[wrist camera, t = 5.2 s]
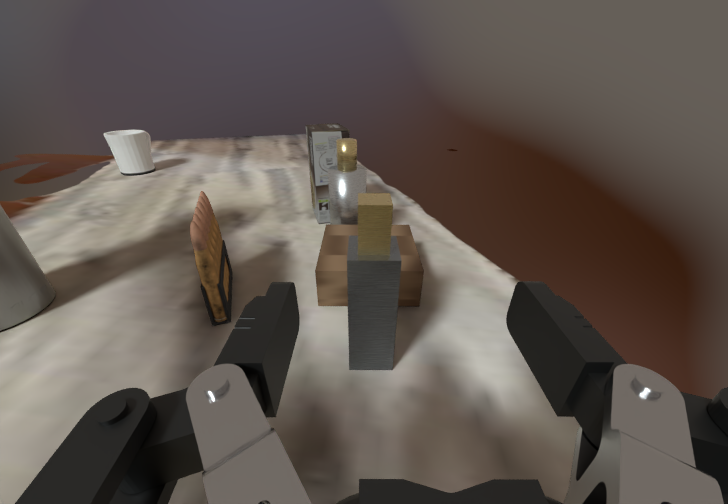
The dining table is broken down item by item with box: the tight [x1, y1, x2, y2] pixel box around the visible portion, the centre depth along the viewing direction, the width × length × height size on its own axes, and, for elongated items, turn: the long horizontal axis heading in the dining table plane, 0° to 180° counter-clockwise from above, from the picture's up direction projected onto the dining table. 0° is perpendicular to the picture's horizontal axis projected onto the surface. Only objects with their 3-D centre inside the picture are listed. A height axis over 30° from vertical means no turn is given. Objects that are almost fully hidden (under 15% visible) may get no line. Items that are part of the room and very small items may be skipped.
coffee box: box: [306, 124, 349, 223], centre depth 56 cm, size 9×6×16 cm
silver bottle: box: [328, 138, 366, 225], centre depth 46 cm, size 6×6×16 cm
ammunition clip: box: [190, 191, 232, 326], centre depth 34 cm, size 11×2×12 cm, turn 20°
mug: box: [104, 130, 155, 175], centre depth 83 cm, size 11×9×10 cm
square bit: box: [347, 193, 402, 370], centre depth 26 cm, size 4×4×16 cm
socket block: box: [315, 225, 424, 306], centre depth 40 cm, size 12×12×5 cm
